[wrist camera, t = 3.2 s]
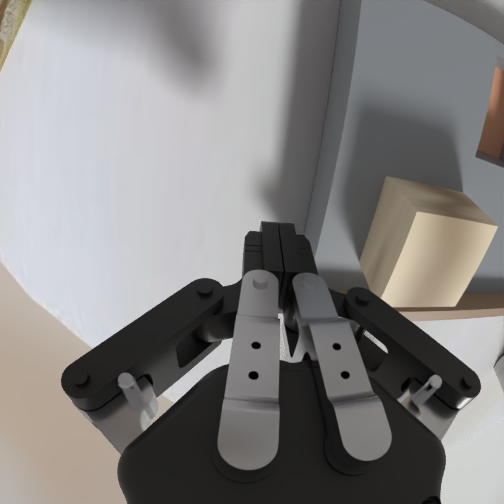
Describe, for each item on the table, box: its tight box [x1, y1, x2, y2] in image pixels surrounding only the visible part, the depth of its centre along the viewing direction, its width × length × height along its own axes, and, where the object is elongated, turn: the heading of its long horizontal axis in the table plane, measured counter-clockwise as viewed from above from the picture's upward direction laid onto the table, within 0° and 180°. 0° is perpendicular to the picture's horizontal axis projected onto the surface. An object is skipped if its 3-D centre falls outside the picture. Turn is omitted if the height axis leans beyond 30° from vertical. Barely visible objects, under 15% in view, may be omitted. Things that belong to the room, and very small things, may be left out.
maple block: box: [359, 176, 498, 307], centre depth 16 cm, size 6×6×4 cm
